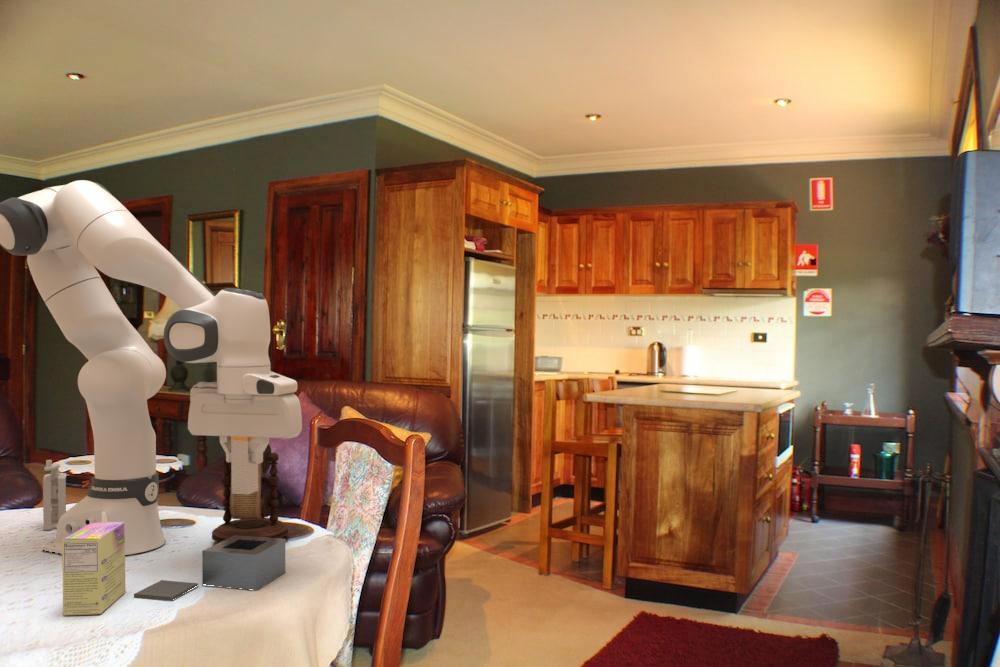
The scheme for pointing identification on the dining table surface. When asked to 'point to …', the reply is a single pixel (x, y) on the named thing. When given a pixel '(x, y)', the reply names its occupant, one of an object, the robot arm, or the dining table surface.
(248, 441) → the orange tipped grey block
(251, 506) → the scroll
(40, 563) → the dining table surface
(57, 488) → the white pump bottle
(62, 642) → the dining table surface
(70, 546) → the box
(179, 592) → the mat
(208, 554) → the square frame
